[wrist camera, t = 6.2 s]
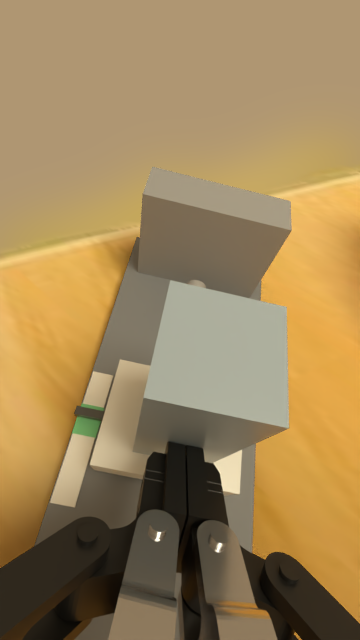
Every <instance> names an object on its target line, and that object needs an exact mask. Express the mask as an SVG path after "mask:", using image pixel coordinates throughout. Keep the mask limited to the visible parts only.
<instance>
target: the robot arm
mask: <svg viewBox="0 0 360 640" xmlns="http://www.w3.org/2000/svg"><path fill="white" fill-rule="evenodd" d="M221 484H222V483H221V477H220V473H219V471H218V470H217V468H216V467H215V465H214V463H209V462H205V460H204V451H203V448H199V447H194V446H189V445H184V444H179V443H174V442H169V441H168V442H167V445H166V449H165V453H164V454H163V453H158V452H153V453H152V454H151V455H150V456H149V458H148V459H147V462H146V467H145V471H144V475H143V479H142V484H141V488H140V493H139V499H138V506H137V512H136V518H135V520H134V521H133V522H132V523H130V524H129V525H127V526H124V527H121V528H116V529H109V527H108V525H107V524H106V523H105V522H104V521H103V520H101V519H99V518H96V517H90V516H88V517H81V518H78V519H76V520H74V521H73V522H71V523H70V524H68V525H66V526H65V527H63V528H62V529H60V530H59V531H57V532H56V533H54V534H53V535H51V536H50V537H48V538H46V539H45V540H43V541H42V542H40V543H39V544H37V545H36V546H34V547H33V548H31V549H29V550H28V551H26V552H25V553H23V554H22V555H20V556H19V557H17V558H16V559H14V560H12V561H11V562H9V563H8V564H6V565H5V566H3V567H2V568H0V640H74V639H75V638H76V637H77V636H78V635H79V634H80V633H81V632H82V631H83V630H84V629H85V628H86V627H87V626H88V625H89V624H90V622H91V621H92V619H93V618H95V617H99V616H104V615H108V614H112V613H114V617H113V622H112V626H111V630H110V634H109V638H108V640H175V628H176V614H177V599H176V598H174V591H175V580H176V573H181V587H180V590H179V594H178V616H179V633H180V640H298V639H297V638H296V636H295V635H294V633H295V632H296V633H297V634H298V635H299V636H300V638H301V639H302V640H360V624H359V623H358V622H357V621H356V620H355V619H354V618H353V617H352V616H351V615H350V614H349V612H348V611H347V610H346V609H345V608H344V607H343V606H342V605H341V604H340V603H339V602H338V601H337V600H336V599H335V598H334V597H333V596H332V595H331V594H330V593H329V592H328V591H327V590H326V589H325V588H324V587H323V586H322V585H321V584H320V583H319V582H318V581H317V580H316V579H315V578H314V577H313V576H312V575H311V574H310V573H309V572H308V571H307V570H306V569H305V568H304V567H303V566H302V565H301V564H300V563H299V562H298V561H297V560H295V559H294V558H293V557H291V556H289V555H287V554H285V553H281V552H274V553H271V554H269V555H268V556H267V558H266V560H264V559H262V558H260V557H258V556H257V555H255V554H253V553H251V552H249V551H247V550H246V549H244V548H243V547H242V546H241V545H240V544H239V541H238V538H237V536H236V534H235V533H234V532H233V530H232V529H231V528H230V527H229V523H228V517H227V512H226V506H225V500H224V494H223V489H222V486H221Z"/></svg>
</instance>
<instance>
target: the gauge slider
mask: <svg viewBox="0 0 360 640" xmlns="http://www.w3.org/2000/svg"><path fill="white" fill-rule="evenodd" d="M74 414H75V416H78V417H83V418H88V419H93V420H98V421H102V423H101V427H100V430H99V434H98V437H97V441H96V444H95V448H94V451H93V455H92V458H91V462H90V466H91V467H92V468H93V469H94V470H96V471H101V472H106V473H112V474H117V475H122V476H127V477H132V478H137V479H143V475H144V471H145V467H146V462H147V459H148V458H149V456H150V455H151V454H152V453H153V452H158V453H163V454H164V453H165V449H166V445H167V442H168V441H169V442H174V443H179V444H184V445H189V446H194V447H199V448H203V451H204V460H205V462H209V463H214V465H215V467H216V468H217V470H218V471H219V473H220V477H221V483H222V484H221V486H222V489H223V494H224V496H225V495H237V494H240V478H241V460H242V449H244V448H247V447H249V446H251V445H253V444H256V443H258V442H260V441H262V440H264V439H267V438H269V437H271V436H273V435H275V434H278V433H280V432H282V431H284V430H286V429H289V406H288V356H287V307H284V306H280V305H275V304H271V303H267V302H262V301H258V300H254V299H249V298H245V297H241V296H236V295H232V294H228V293H223V292H219V291H215V290H211V289H206V285H205V284H204V283H203V282H201V281H198V280H191V281H188V282H187V283H186V284H185V283H180V282H176V281H172V280H170V284H169V288H168V292H167V297H166V301H165V305H164V310H163V314H162V319H161V323H160V327H159V332H158V336H157V340H156V345H155V349H154V353H153V358H152V362H151V366H149V365H144V364H139V363H135V362H130V361H126V360H121V359H120V361H119V365H118V368H117V371H116V375H115V378H114V382H113V385H112V389H111V392H110V396H109V399H108V403H107V406H106V410H105V411H100V410H96V409H91V408H86V407H81V406H77V407H76V410H75V413H74Z"/></svg>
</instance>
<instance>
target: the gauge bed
mask: <svg viewBox="0 0 360 640" xmlns="http://www.w3.org/2000/svg"><path fill="white" fill-rule="evenodd" d="M141 214H142V215H141V228H140V238H139V237H137V238H136V241H135V244H134V247H133V250H132V253H131V256H130V259H129V262H128V265H127V268H126V271H125V274H124V277H123V280H122V283H121V286H120V289H119V292H118V295H117V298H116V301H115V305H114V308H113V311H112V314H111V317H110V320H109V323H108V326H107V329H106V332H105V335H104V338H103V341H102V344H101V347H100V350H99V353H98V356H97V359H96V362H95V365H94V368H93V371H92V374H91V377H90V380H89V383H88V386H87V389H86V392H85V395H84V398H83V401H82V404H81V407H86V408H91V409H96V410H100V411H105V410H106V406H107V403H108V399H109V396H110V392H111V389H112V385H113V382H114V378H115V375H116V371H117V368H118V365H119V361H120V359H121V360H126V361H130V362H135V363H139V364H144V365H149V366H151V362H152V358H153V353H154V349H155V345H156V340H157V336H158V332H159V327H160V323H161V319H162V314H163V310H164V305H165V301H166V297H167V292H168V288H169V284H170V280H172V281H176V282H180V283H185V284H186V283H187V282H188V281H191V280H198V281H201V282H203V283H204V284H205V285H206V289H211V290H215V291H219V292H223V293H228V294H232V295H236V296H241V297H245V298H249V299H254V300H258V301H260V299H261V279H262V277H263V276H264V274H265V272H266V271H267V269H268V268H269V266H270V264H271V263H272V261H273V259H274V258H275V256H276V255H277V253H278V251H279V250H280V248H281V247H282V245H283V243H284V242H285V240H286V238H287V237H288V235H289V234H290V232H291V202H290V201H288V200H284V199H280V198H276V197H271V196H267V195H263V194H259V193H255V192H251V191H247V190H243V189H239V188H235V187H231V186H227V185H223V184H219V183H215V182H211V181H207V180H203V179H199V178H195V177H191V176H187V175H183V174H179V173H175V172H171V171H167V170H163V169H159V168H155V167H152V170H151V172H150V175H149V178H148V181H147V183H146V186H145V189H144V192H143V198H142V213H141ZM101 423H102V421H98V420H93V419H88V418H83V417H78V416H77V419H76V422H75V425H74V428H73V431H72V434H71V437H70V440H69V443H68V446H67V449H66V452H65V455H64V458H63V461H62V464H61V467H60V470H59V473H58V476H57V479H56V482H55V485H54V488H53V491H52V494H51V497H50V500H49V503H48V506H47V509H46V512H45V515H44V518H43V521H42V524H41V527H40V530H39V533H38V536H37V539H36V542H35V545H34V546H36V545H37V544H39V543H40V542H42V541H43V540H45V539H46V538H48V537H50V536H51V535H53V534H54V533H56V532H57V531H59V530H60V529H62V528H63V527H65V526H66V525H68V524H70V523H71V522H73V521H74V520H76V519H78V518H81V517H88V516H90V517H96V518H99V519H101V520H103V521H104V522H105V523H106V524H107V525H108V527H109V529H116V528H121V527H124V526H127V525H129V524H130V523H132V522H133V521H134V520H135V518H136V512H137V506H138V499H139V493H140V488H141V484H142V479H137V478H132V477H127V476H122V475H117V474H112V473H106V472H101V471H96V470H94V469H93V468H92V467H91V466H90V462H91V458H92V455H93V451H94V448H95V444H96V441H97V437H98V434H99V430H100V427H101ZM255 448H256V444H253V445H251V446H249V447H247V448H244V449H242V460H241V478H240V494H237V495H225V496H224V500H225V506H226V512H227V517H228V523H229V527H230V528H231V529H232V530H233V532H234V533H235V534H236V536H237V538H238V541H239V544H240V545H241V546H242V547H243V548H244V549H246V550H247V551H249V552H251V553H252V538H253V508H254V478H255ZM180 587H181V573H176V580H175V591H174V598H176V599H177V614H176V628H175V640H180V633H179V616H178V594H179V590H180ZM113 617H114V613H112V614H108V615H104V616H99V617H95V618H93V619H92V621H91V622H90V624H89V625H88V626H87V627H86V628H85V629H84V630H83V631H82V632H81V633H80V634H79V635H78V636H77V637H76V638H75V639H74V640H108V638H109V634H110V630H111V626H112V622H113Z"/></svg>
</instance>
